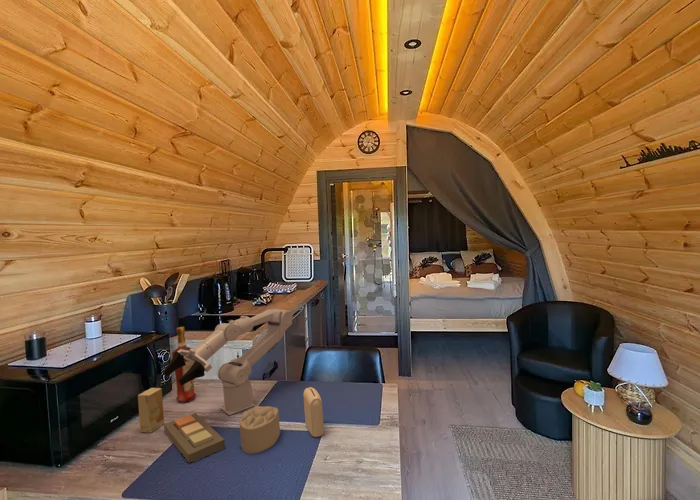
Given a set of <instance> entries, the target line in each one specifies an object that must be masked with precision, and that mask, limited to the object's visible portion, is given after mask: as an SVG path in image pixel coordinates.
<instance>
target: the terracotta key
mask: <svg viewBox="0 0 700 500" xmlns="http://www.w3.org/2000/svg"><path fill="white" fill-rule="evenodd" d="M173 421H174V424H175V427H176V428H177V429H178V430H181V428H182V427H185V426H188V425H191V424H193V423H196V420H195V419H194V418H193V417H192V416H191V414H188V415H185V416H182V417H180V418H177V419H174V420H173Z"/></svg>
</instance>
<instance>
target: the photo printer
mask: <svg viewBox="0 0 700 500" xmlns="http://www.w3.org/2000/svg"><path fill="white" fill-rule="evenodd" d="M302 397H303V407H304V421H305V425H306V429H307V430H308V431H309V433H310V435H311V436H312V437H314V438H317V437H321V436H323V435H324V433H325V426H324V415H323V414H324V412H323V402H322V398H321V396H320V393H319V392H318V391H317V390H316V388H314V387H312V386H309V387H306V388H305V389H304V390H303V395H302Z"/></svg>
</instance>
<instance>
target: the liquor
mask: <svg viewBox="0 0 700 500" xmlns="http://www.w3.org/2000/svg"><path fill="white" fill-rule="evenodd" d="M185 332H186V331H185V326H180V327H176V334H177V348H176V349H174V350H173V351H172V352H171V357H172V358H173V355H174V353H175V352H178V351H179V350H180V349H182V350H188V351H189V350H190V349H192V348H191V347H190V346H187V343H186V337H185ZM172 358H171V359H172ZM184 361H185V364H186V365H185V366H182V367H180V368H178V369H177V370H175V371H174V372H173V373H174V378H175V379H174V380H175V386H176V393H177V394H176V395H177V396H176V398H175V399H176V400H177V401H178V402H180V403H189V402H190V400H191V401H192V400H193V399H194V398H195V397H196V395H197V394H196V392H195V379H193V380H191V381H189V382H187V383H186V384H184V385H182V386H181V385H180V383H179V381H178V380H179V379H180V378H181V377H182V376H183V375H184V374H185V373H186V372H187V371H188V370H189V369H190V368H191V366H192V365H193V363H191V362H189V361H187V360H184Z"/></svg>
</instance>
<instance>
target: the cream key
mask: <svg viewBox="0 0 700 500" xmlns="http://www.w3.org/2000/svg"><path fill="white" fill-rule="evenodd" d="M201 431H204V428H203V426H201V425H200V424H199V423H198V422H196V423H193V424H191V425H188V426H185V427H182V428H181V434H182V435H183V436H184V437H185V438H186V439H187V438H189V436H191V435H194V434H196V433H199V432H201Z"/></svg>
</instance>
